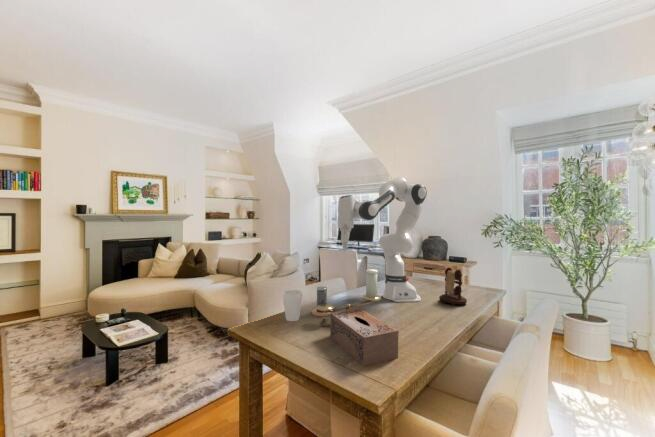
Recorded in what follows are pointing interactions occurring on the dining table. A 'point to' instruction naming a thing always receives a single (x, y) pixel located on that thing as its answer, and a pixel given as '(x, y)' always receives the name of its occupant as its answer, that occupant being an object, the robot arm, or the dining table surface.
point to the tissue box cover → (364, 336)
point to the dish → (320, 313)
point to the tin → (321, 296)
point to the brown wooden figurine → (453, 292)
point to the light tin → (371, 283)
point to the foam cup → (292, 304)
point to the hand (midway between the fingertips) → (344, 249)
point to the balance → (330, 308)
